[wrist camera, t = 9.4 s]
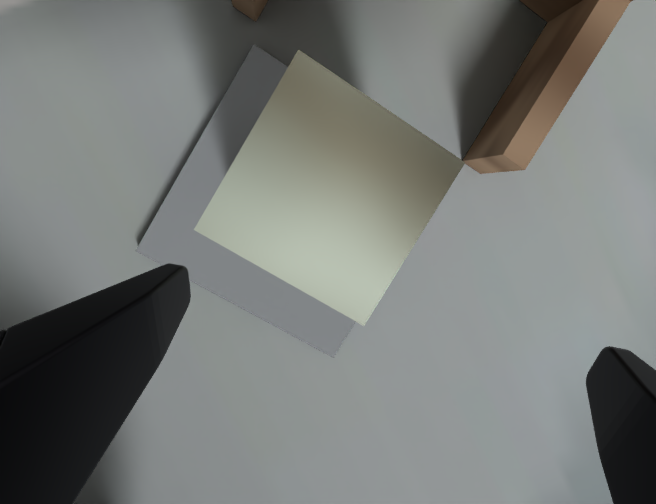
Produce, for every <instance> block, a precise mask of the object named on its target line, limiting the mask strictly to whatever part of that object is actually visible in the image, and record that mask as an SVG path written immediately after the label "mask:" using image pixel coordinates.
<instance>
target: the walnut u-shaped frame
mask: <svg viewBox="0 0 656 504" xmlns="http://www.w3.org/2000/svg"><path fill="white" fill-rule="evenodd" d="M231 1H232V5H233V7H235V8H236V9H238V10H239V11H241V12H242V13H244V14H245V15H246V16H248V17H249V18H251V19H252V20H254V21H255V22H256V21H257V19H258V17H259V16H260V14H261V12H262V10H263V9H264V7H265V5H266V3H267V2H268V0H231ZM520 1H521V2H522V3H523V4H525V5H526V6H527V7H529V8H530V9H531V10H532V11H534V12H535V13H536V14H538V15H539V16H540V17H541V18H543V19H544V20H545V21H546V22H548V23H547V24H546V26H545V27H544V29H543V31H542V32H541V34H540V36H539V37H538V39H537V40H536V42H535V44H534V45H533V47H532V49H531V50H530V52H529V53H528V55H527V57H526V58H525V60H524V62H523V63H522V65H521V66H520V68H519V70H518V71H517V73H516V74H515V76H514V78H513V79H512V81H511V83H510V84H509V86H508V87H507V89H506V91H505V92H504V94H503V96H502V97H501V99H500V100H499V102H498V104H497V105H496V107H495V109H494V110H493V112H492V113H491V115H490V117H489V118H488V120H487V122H486V123H485V125H484V126H483V128H482V130H481V131H480V133H479V134H478V136H477V138H476V139H475V141H474V143H473V144H472V146H471V147H470V149H469V151H468V152H467V154H466V156H465V157H464V159H463V160H462V161H464V162H465V164H467V165H468V166H470V167H471V168H473V169H474V170H476V171H477V172H479V173H480V174H483V173H495V172H506V171H518V170H525V169H526V167H527V166H528V164H529V163H530V161H531V159H532V158H533V156H534V155H535V153H536V151H537V150H538V148H539V147H540V145H541V143H542V142H543V140H544V139H545V137H546V135H547V134H548V132H549V131H550V129H551V127H552V126H553V124H554V123H555V121H556V120H557V118H558V116H559V115H560V113H561V112H562V110H563V108H564V107H565V105H566V104H567V102H568V100H569V99H570V97H571V96H572V94H573V92H574V91H575V89H576V88H577V86H578V85H579V83H580V81H581V80H582V78H583V77H584V75H585V73H586V72H587V70H588V69H589V67H590V65H591V64H592V62H593V61H594V59H595V57H596V56H597V54H598V53H599V51H600V49H601V48H602V46H603V45H604V43H605V42H606V40H607V38H608V37H609V35H610V34H611V32H612V30H613V29H614V27H615V26H616V24H617V22H618V21H619V19H620V18H621V16H622V14H623V13H624V11H625V10H626V8H627V7H628V5H629V3H630V2H631V1H633V0H520Z"/></svg>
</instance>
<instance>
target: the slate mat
mask: <svg viewBox="0 0 656 504" xmlns="http://www.w3.org/2000/svg"><path fill="white" fill-rule="evenodd" d="M287 68H288V66H286V65H285V64H283V63H281V62H280V61H278V60H277V59H275V58H274V57H272V56H271V55H269V54H268V53H266V52H265V51H263V50H262V49H260V48H259V47H257V46H256V45H254V44H253V46H252V48H251V50H250V51H249V53H248V55H247V57H246V58H245V60H244V62H243V64H242V65H241V67H240V69H239V71H238V72H237V74H236V76H235V78H234V79H233V81H232V83H231V85H230V86H229V88H228V90H227V92H226V93H225V95H224V97H223V99H222V100H221V102H220V104H219V106H218V107H217V109H216V111H215V113H214V114H213V116H212V118H211V120H210V121H209V123H208V125H207V127H206V128H205V130H204V132H203V134H202V135H201V137H200V139H199V141H198V142H197V144H196V146H195V148H194V149H193V151H192V153H191V155H190V156H189V158H188V160H187V162H186V163H185V165H184V167H183V169H182V170H181V172H180V174H179V176H178V177H177V179H176V181H175V183H174V184H173V186H172V188H171V190H170V191H169V193H168V195H167V197H166V198H165V200H164V202H163V204H162V205H161V207H160V209H159V211H158V212H157V214H156V216H155V218H154V219H153V221H152V223H151V225H150V226H149V228H148V230H147V232H146V233H145V235H144V237H143V239H142V240H141V242H140V244H139V246H138V247H137V249H136V251H137V252H138V253H140V254H142V255H144V256H146V257H148V258H150V259H151V260H153V261H155V262H157V263H159V264H161V265H162V266H163V265H165V264H168V263H172V264H177V265H183V266H185V267H186V268H187V269H188V273H189V280H190V281H192V282H194V283H196V284H198V285H200V286H201V287H203V288H205V289H207V290H209V291H211V292H212V293H214V294H216V295H218V296H220V297H222V298H224V299H225V300H227V301H229V302H231V303H233V304H235V305H237V306H238V307H240V308H242V309H244V310H246V311H248V312H249V313H251V314H253V315H255V316H257V317H259V318H261V319H262V320H264V321H266V322H268V323H270V324H272V325H274V326H275V327H277V328H279V329H281V330H283V331H285V332H287V333H288V334H290V335H292V336H294V337H296V338H298V339H299V340H301V341H303V342H305V343H307V344H309V345H311V346H312V347H314V348H316V349H318V350H320V351H322V352H324V353H325V354H327V355H329V356H331V357H333V358H334V356H335V355H336V353H337V351H338V350H339V348H340V346H341V345H342V343H343V342H344V340H345V338H346V337H347V335H348V333H349V332H350V330H351V329H352V327H353V325H354V324H355V322H356V321H354V320H353V319H351V318H349V317H347V316H345V315H344V314H342V313H340V312H338V311H337V310H335V309H333V308H331V307H329V306H328V305H326V304H324V303H322V302H321V301H319V300H317V299H315V298H314V297H312V296H310V295H308V294H306V293H305V292H303V291H301V290H299V289H298V288H296V287H294V286H292V285H291V284H289V283H287V282H285V281H283V280H282V279H280V278H278V277H276V276H275V275H273V274H271V273H269V272H268V271H266V270H264V269H262V268H260V267H259V266H257V265H255V264H253V263H252V262H250V261H248V260H246V259H244V258H243V257H241V256H239V255H237V254H236V253H234V252H232V251H230V250H229V249H227V248H225V247H223V246H221V245H220V244H218V243H216V242H214V241H213V240H211V239H209V238H207V237H206V236H204V235H202V234H200V233H198V232H197V231H195V230H194V228H195V227H196V225H197V223H198V222H199V220H200V218H201V216H202V215H203V213H204V211H205V210H206V208H207V206H208V204H209V203H210V201H211V199H212V197H213V196H214V194H215V192H216V191H217V189H218V187H219V185H220V184H221V182H222V180H223V178H224V177H225V175H226V173H227V172H228V170H229V168H230V166H231V165H232V163H233V161H234V160H235V158H236V156H237V154H238V153H239V151H240V149H241V147H242V146H243V144H244V142H245V141H246V139H247V137H248V135H249V134H250V132H251V130H252V129H253V127H254V125H255V123H256V122H257V120H258V118H259V116H260V115H261V113H262V111H263V110H264V108H265V106H266V104H267V103H268V101H269V99H270V97H271V96H272V94H273V92H274V91H275V89H276V87H277V85H278V84H279V82H280V80H281V79H282V77H283V75H284V73H285V72H286V70H287Z"/></svg>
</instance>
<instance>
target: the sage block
mask: <svg viewBox="0 0 656 504" xmlns="http://www.w3.org/2000/svg"><path fill="white" fill-rule="evenodd" d="M464 164H465V162H464V161H462V160H461V159H459V158H458V157H456V156H455V155H453V154H452V153H450V152H449V151H448V150H446V149H445V148H443V147H442V146H440V145H439V144H437V143H436V142H434V141H433V140H431V139H430V138H428V137H427V136H425V135H424V134H422V133H421V132H420V131H418V130H417V129H415V128H414V127H412V126H411V125H409V124H408V123H406V122H405V121H403V120H402V119H400V118H399V117H397V116H396V115H394V114H393V113H391V112H390V111H389V110H387V109H386V108H384V107H383V106H381V105H380V104H378V103H377V102H375V101H374V100H372V99H371V98H369V97H368V96H366V95H365V94H363V93H362V92H360V91H359V90H358V89H356V88H355V87H353V86H352V85H350V84H349V83H347V82H346V81H344V80H343V79H341V78H340V77H338V76H337V75H335V74H334V73H332V72H331V71H330V70H328V69H327V68H325V67H324V66H322V65H321V64H319V63H318V62H316V61H315V60H313V59H312V58H310V57H309V56H307V55H306V54H304V53H303V52H301V51H300V50H299V49H298V51H297V53H296V54H295V56H294V58H293V60H292V61H291V63H290V65H289V66H288V68H287V70H286V72H285V73H284V75H283V77H282V79H281V80H280V82H279V84H278V85H277V87H276V89H275V91H274V92H273V94H272V96H271V97H270V99H269V101H268V103H267V104H266V106H265V108H264V110H263V111H262V113H261V115H260V116H259V118H258V120H257V122H256V123H255V125H254V127H253V129H252V130H251V132H250V134H249V135H248V137H247V139H246V141H245V142H244V144H243V146H242V147H241V149H240V151H239V153H238V154H237V156H236V158H235V160H234V161H233V163H232V165H231V166H230V168H229V170H228V172H227V173H226V175H225V177H224V178H223V180H222V182H221V184H220V185H219V187H218V189H217V191H216V192H215V194H214V196H213V197H212V199H211V201H210V203H209V204H208V206H207V208H206V210H205V211H204V213H203V215H202V216H201V218H200V220H199V222H198V223H197V225H196V227H195V228H194V230H195V231H197V232H198V233H200V234H202V235H204V236H206V237H207V238H209V239H211V240H213V241H214V242H216V243H218V244H220V245H221V246H223V247H225V248H227V249H229V250H230V251H232V252H234V253H236V254H237V255H239V256H241V257H243V258H244V259H246V260H248V261H250V262H252V263H253V264H255V265H257V266H259V267H260V268H262V269H264V270H266V271H268V272H269V273H271V274H273V275H275V276H276V277H278V278H280V279H282V280H283V281H285V282H287V283H289V284H291V285H292V286H294V287H296V288H298V289H299V290H301V291H303V292H305V293H306V294H308V295H310V296H312V297H314V298H315V299H317V300H319V301H321V302H322V303H324V304H326V305H328V306H329V307H331V308H333V309H335V310H337V311H338V312H340V313H342V314H344V315H345V316H347V317H349V318H351V319H353V320H354V321H356V322H358V323H360V324H361V325H363V326H364V325H365V324H366V322H367V320H368V319H369V317H370V316H371V314H372V312H373V311H374V309H375V307H376V306H377V304H378V303H379V301H380V299H381V298H382V296H383V295H384V293H385V291H386V290H387V288H388V286H389V285H390V283H391V282H392V280H393V278H394V277H395V275H396V274H397V272H398V270H399V269H400V267H401V265H402V264H403V262H404V261H405V259H406V257H407V256H408V254H409V252H410V251H411V249H412V248H413V246H414V244H415V243H416V241H417V240H418V238H419V236H420V235H421V233H422V231H423V230H424V228H425V227H426V225H427V223H428V222H429V220H430V219H431V217H432V215H433V214H434V212H435V210H436V209H437V207H438V206H439V204H440V202H441V201H442V199H443V198H444V196H445V194H446V193H447V191H448V189H449V188H450V186H451V185H452V183H453V181H454V180H455V178H456V176H457V175H458V173H459V172H460V170H461V168H462V167H463V165H464Z"/></svg>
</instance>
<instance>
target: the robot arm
mask: <svg viewBox="0 0 656 504" xmlns="http://www.w3.org/2000/svg"><path fill="white" fill-rule="evenodd" d="M190 297H191V294H190V283H189V273H188V269H187V268H186V267H185V266H183V265H177V264H172V263H168V264H165V265H163V266H160V267H158V268H155V269H153V270H150V271H148V272H145V273H143V274H140V275H138V276H135V277H133V278H131V279H128V280H126V281H123V282H121V283H118V284H116V285H113V286H111V287H108V288H106V289H103V290H101V291H98V292H96V293H93V294H91V295H88V296H86V297H84V298H81V299H79V300H76V301H74V302H71V303H69V304H66V305H64V306H61V307H59V308H56V309H54V310H51V311H49V312H46V313H44V314H42V315H39V316H37V317H34V318H32V319H29V320H27V321H24V322H22V323H19V324H17V325H14V326H12V327H9V328H8V329H7V331H6V330H2V331H0V504H73V502H74V501H75V499H76V497H77V496H78V494H79V493H80V491H81V489H82V488H83V486H84V485H85V483H86V481H87V480H88V478H89V477H90V475H91V473H92V472H93V470H94V469H95V467H96V466H97V464H98V462H99V461H100V459H101V458H102V456H103V454H104V453H105V451H106V450H107V448H108V446H109V445H110V443H111V442H112V440H113V438H114V437H115V435H116V434H117V432H118V430H119V429H120V427H121V426H122V424H123V422H124V421H125V419H126V418H127V416H128V414H129V413H130V411H131V410H132V408H133V406H134V405H135V403H136V402H137V400H138V398H139V397H140V395H141V394H142V392H143V391H144V389H145V387H146V386H147V384H148V383H149V381H150V379H151V378H152V376H153V375H154V373H155V371H156V370H157V368H158V366H159V365H160V363H161V361H162V359H163V357H164V356H165V354H166V352H167V350H168V347H169V345H170V343H171V341H172V339H173V337H174V335H175V333H176V331H177V329H178V327H179V324H180V322H181V320H182V318H183V316H184V314H185V312H186V310H187V308H188V305H189V303H190ZM586 387H587V393H588V398H589V404H590V409H591V415H592V420H593V426H594V431H595V437H596V442H597V447H598V452H599V456H600V459H601V463H602V467H603V470H604V473H605V477H606V480H607V483H608V487H609V490H610V493H611V497H612V500H613V503H614V504H656V370H654V369H653V368H652V367H651V366H649V365H648V364H647V363H645V362H644V361H643V360H641V359H640V358H639V357H637V356H636V355H635V354H633V353H632V352H631V351H629V350H626V349H621V348H616V347H610V346H609V347H605V348H604V349H602V351H601V352H600V354H599V355H598V357H597V359H596V360H595V362H594V364H593V365H592V367H591V369H590V370H589V372H588V374H587V377H586Z"/></svg>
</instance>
